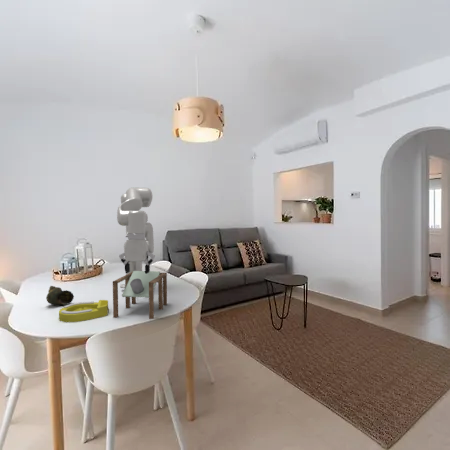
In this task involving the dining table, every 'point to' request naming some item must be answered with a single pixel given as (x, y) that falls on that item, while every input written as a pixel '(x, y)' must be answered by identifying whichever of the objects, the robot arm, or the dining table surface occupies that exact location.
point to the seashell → (59, 296)
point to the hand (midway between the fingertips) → (137, 272)
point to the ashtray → (83, 311)
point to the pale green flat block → (145, 281)
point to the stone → (137, 286)
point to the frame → (161, 294)
